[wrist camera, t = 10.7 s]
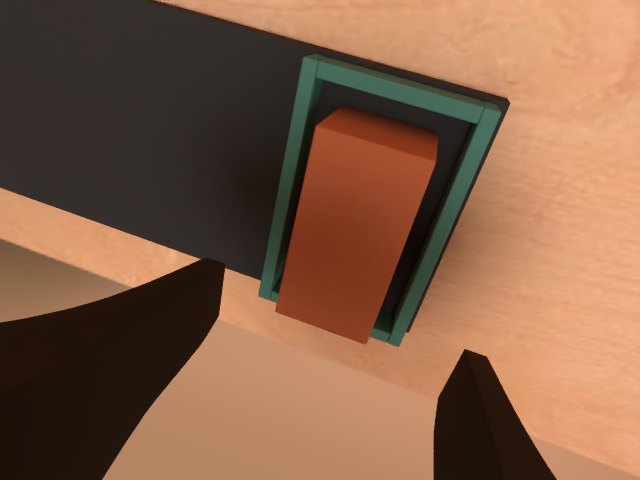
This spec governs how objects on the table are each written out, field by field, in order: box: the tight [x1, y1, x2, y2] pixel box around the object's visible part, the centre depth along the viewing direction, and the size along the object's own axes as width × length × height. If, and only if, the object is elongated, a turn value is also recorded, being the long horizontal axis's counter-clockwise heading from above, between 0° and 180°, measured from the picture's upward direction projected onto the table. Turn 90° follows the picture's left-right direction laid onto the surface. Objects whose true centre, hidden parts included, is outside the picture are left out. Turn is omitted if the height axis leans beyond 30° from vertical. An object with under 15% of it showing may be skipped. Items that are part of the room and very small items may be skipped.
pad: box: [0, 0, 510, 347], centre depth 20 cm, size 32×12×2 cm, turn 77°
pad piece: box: [275, 105, 438, 344], centre depth 17 cm, size 4×8×4 cm, turn 167°
